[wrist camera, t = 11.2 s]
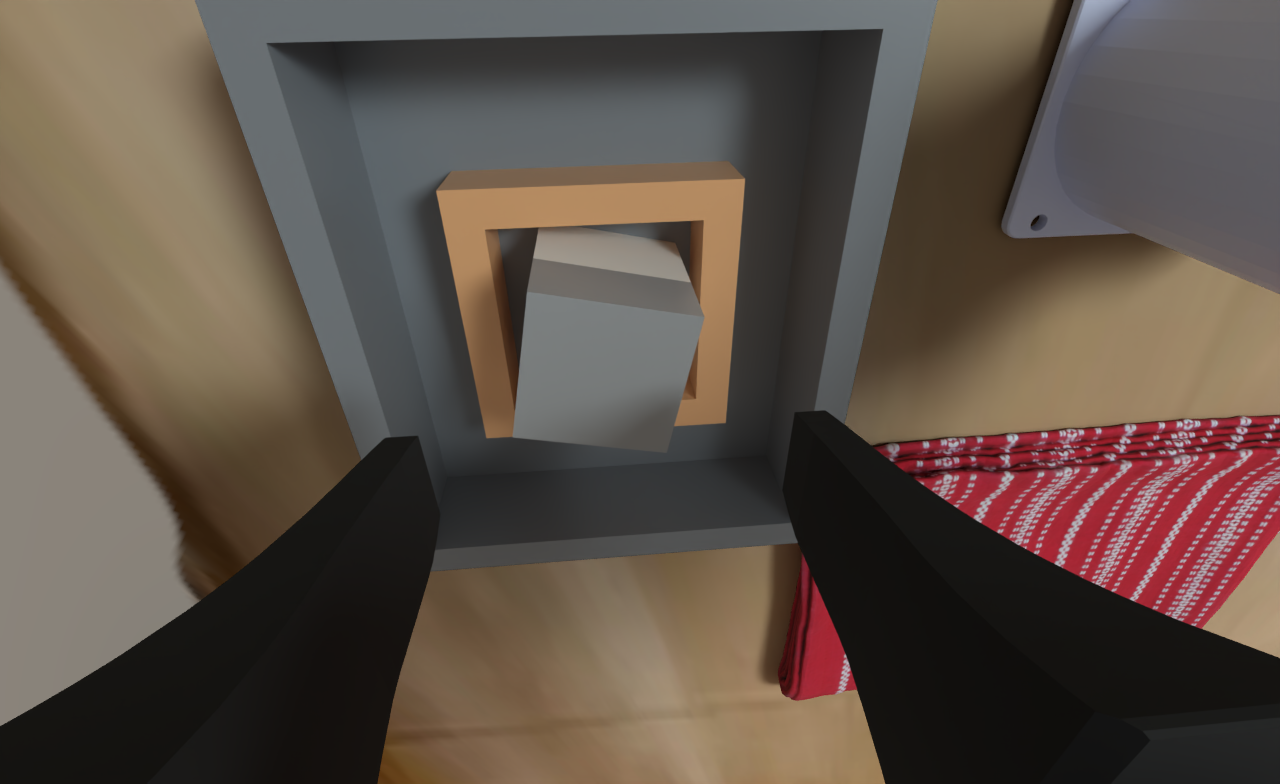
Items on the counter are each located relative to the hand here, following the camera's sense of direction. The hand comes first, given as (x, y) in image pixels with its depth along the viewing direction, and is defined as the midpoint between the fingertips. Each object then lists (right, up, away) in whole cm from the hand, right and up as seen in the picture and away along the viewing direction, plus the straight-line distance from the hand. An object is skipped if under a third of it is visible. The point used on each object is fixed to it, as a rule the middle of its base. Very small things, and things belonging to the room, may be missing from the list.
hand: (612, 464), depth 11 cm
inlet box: (-1, +5, +8) cm, 9 cm away
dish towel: (+19, -7, +18) cm, 27 cm away
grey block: (-1, +4, +7) cm, 8 cm away
